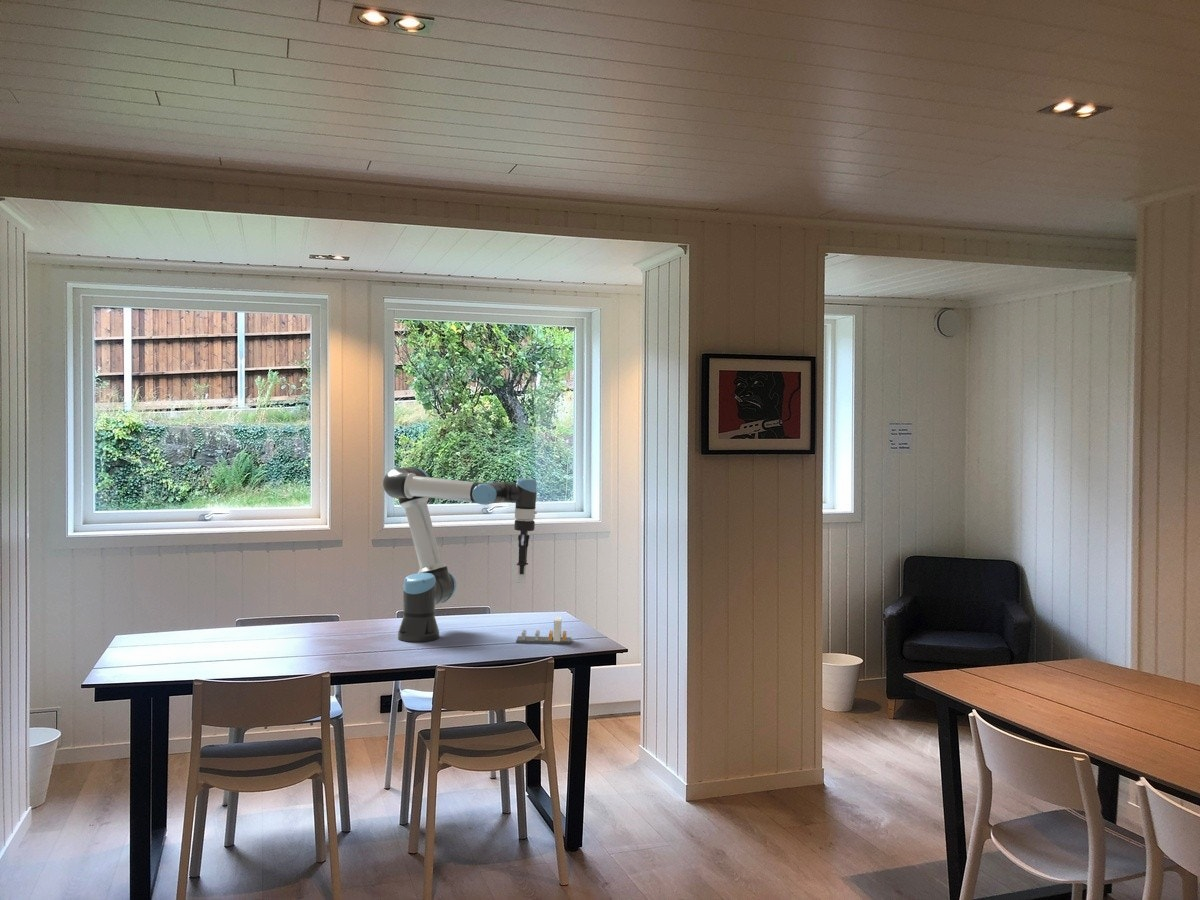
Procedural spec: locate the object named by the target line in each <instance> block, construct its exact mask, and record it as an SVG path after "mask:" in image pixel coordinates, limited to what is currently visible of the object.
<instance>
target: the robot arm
mask: <svg viewBox="0 0 1200 900" xmlns="http://www.w3.org/2000/svg"><path fill="white" fill-rule="evenodd" d="M382 487H383V490H384V491H385V493H386V494H387V495H388V496H389V497H391V498H393V499H398V503H399V506H401V508H403V509H404V510H405V514H406V518H407V523H408V526H409V530H410V532H411V533H410V534H411V538H412V543H413V545H414V546H413V547H414V550H415V553H416V558H417V562H418V566H419V570H418V571H417V573H412V574H409V575H407V576H406V577H405V578H404V580H403V587H402V590H403V592H402V593H403V596H402V597H403V600H402V601H403V602H402V603H403V605H402V606H403V607H402V609H403V610H402V612H403V614H402V616H403V617H402V619H401V623H400V625H399V629H398V631H397V639H398V640H401V641H403V642H414V643H415V642H416V643H422V642H431V641H435V640H439V638H440V629H439V627H438V623H437V619H436V614H435V613H436V605H441V604H443V603H447V602H448V601H449V600H450V599H452V598H453V597H454V595H455V593H456V590H457V581H456V578H455V576H454V575H453V574H452V573H450V572H449V570H448V566H447V564H445V563H443V561H442V557H441V554H440V551H439V550H440V549H439V547H438V543H437V539H436V534H435V530H434V526H433V522H432V519H431V515H430V511H429V508H428V501H429V499H439V500H448V501H457V502H466V503H475V504H478V505H482V506H483V505H484V506H485V505H487V506H488V505H492V504H498V503H511V504H515V507H514V508H515V509H514V518H515V520H514V526H513V529H514V530H515V531H519V532H520V534H518V537H517V540H518V562H517V563H516V566H518V572H517V583H520V584H526V575H527V574H526V573H527V566H528V565H529V563H528V560H527V559H528V547H529V540H530V535H529V533H528V532H534V531H535V524H536V522H535V519H536V515H537V514H538V512H537V511H536V505H537V503H536V502H537V493H538V490H537V489H538V488H537V487H538V485H537V480H536V479H534V478H529V477H527V478H524V477H522V478H521V477H519V478H517V479H516V482H508V481H507V482H506V481H505V482H504V481H497V480H496V481H488V482H487V483H486V482H476V481H467V480H466V481H465V480H458V479H457V480H456V479H447V478H439V477H430V476H429V475H428V473H427V472H426V471H425V470H424V469H422V468H419V467H415V466H410V467H395V468H392V469H390V470H389V471H387V472H386V474H385V475H384V478H383V481H382Z"/></svg>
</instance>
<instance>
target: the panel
mask: <svg viewBox="0 0 1200 900" xmlns="http://www.w3.org/2000/svg"><path fill="white" fill-rule="evenodd" d="M553 637H554V639H553V641H560V640H561V637H562V616H554V619H553Z"/></svg>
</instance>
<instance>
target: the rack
mask: <svg viewBox="0 0 1200 900" xmlns="http://www.w3.org/2000/svg"><path fill="white" fill-rule="evenodd" d="M540 632H541V631H540V630H539V629H537V630H536V631H535V634H534V636H528V635H527V630H526V629H523V630H522V632H521V636H520V635H519V636H517V638H516V640H515V641H516V644H546V645H547V644H548V645H549V644H551V645H557V644H558V645H572V637H567V630H563V631H562V636H561V640H560V641H553V639H554V630H549V631H548V632H549V633H548V636H540V635H541V633H540Z"/></svg>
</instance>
